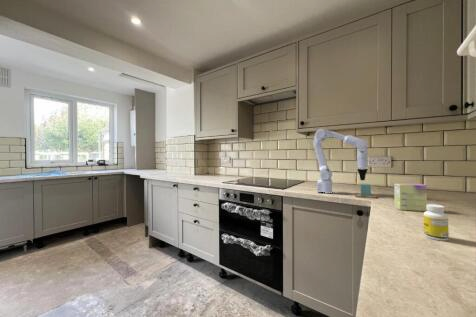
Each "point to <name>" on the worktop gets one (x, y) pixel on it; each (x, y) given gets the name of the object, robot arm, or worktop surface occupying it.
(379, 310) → the worktop surface
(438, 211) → the supplement bottle
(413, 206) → the box
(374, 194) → the post board
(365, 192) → the teal rectangular block
